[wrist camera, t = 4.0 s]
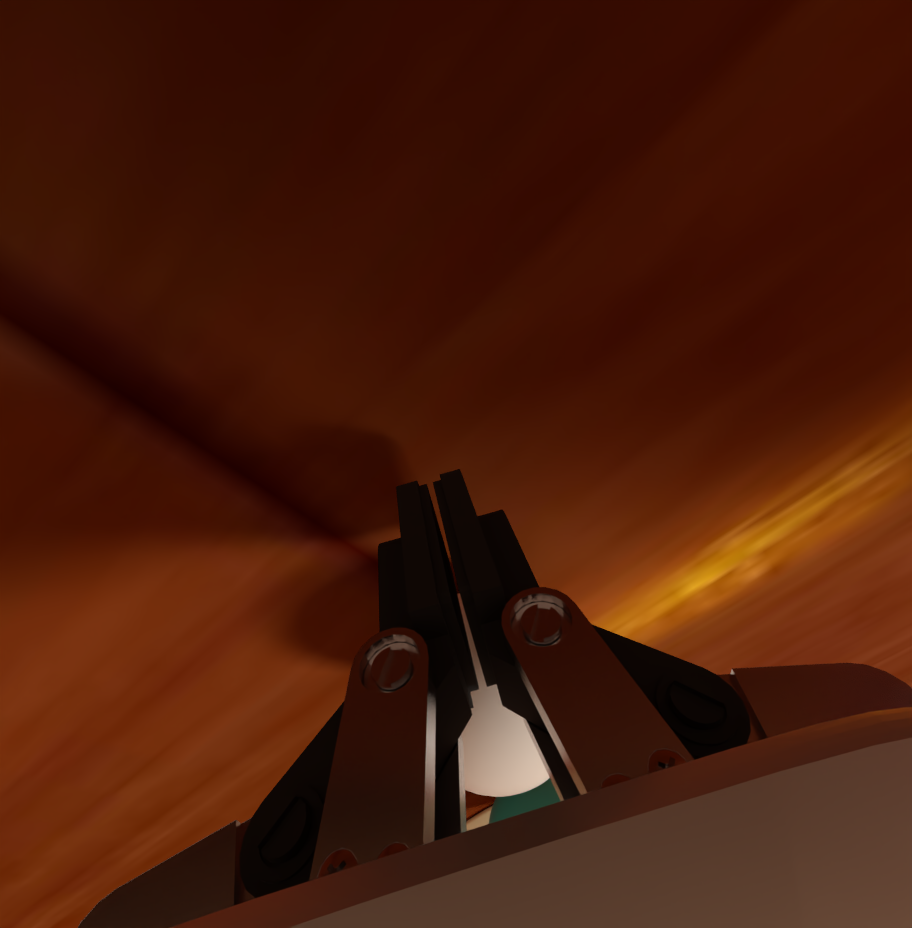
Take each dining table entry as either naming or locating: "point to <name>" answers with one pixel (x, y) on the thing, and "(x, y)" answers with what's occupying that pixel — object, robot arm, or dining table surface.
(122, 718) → the dining table surface
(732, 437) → the dining table surface
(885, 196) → the dining table surface
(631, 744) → the robot arm
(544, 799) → the object ball
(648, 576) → the dining table surface
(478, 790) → the glossy white ball
